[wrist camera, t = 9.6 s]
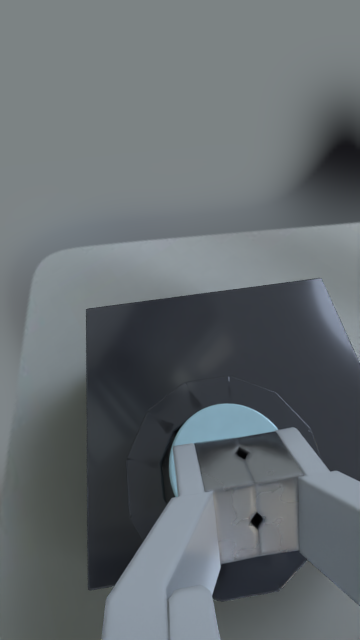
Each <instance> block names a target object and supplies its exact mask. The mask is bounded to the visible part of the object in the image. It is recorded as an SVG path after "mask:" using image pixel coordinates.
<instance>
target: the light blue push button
mask: <svg viewBox="0 0 360 640" xmlns="http://www.w3.org/2000/svg"><path fill="white" fill-rule="evenodd" d="M275 430H278V428H277V427H276V426H275V425H274V424H273V423H272V422H271V421H270V420H269V419H268V418H266V417H265V416H264V415H263V414H261V413H259V412H258V411H256V410H254V409H251V408H249V407H246V406H243V405H239V404H232V403H223V404H216V405H211V406H208V407H206V408H203V409H202V410H200V411H198V412H196V413H195V414H193V415H192V416H191V417H190V418H189V419H188V420H187V421H186V422H185V423H184V424H183V425H182V426H181V428H180V429H179V431H178V433H177V434H176V437H175V439H174V441H173V444H172V447H171V451H170V456H169V477H170V483H171V487H172V490H173V493H174V496H175V497H178V491H177V482H176V473H175V465H174V456H173V446H177V445H183V444H190V443H193V444H194V443H197V442H204V441H212V440H219V439H227V438H237V437H243V436H249V435H255V434H261V433H267V432H273V431H275Z"/></svg>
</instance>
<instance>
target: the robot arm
mask: <svg viewBox="0 0 360 640" xmlns="http://www.w3.org/2000/svg"><path fill="white" fill-rule="evenodd" d="M173 456H174V465H175V473H176V482H177V491H178V497H174V498H171V500H170V501H169V503H168V504H167V506H166V507H165V509H164V510H163V512H162V514H161V515H160V517H159V518H158V520H157V521H156V523H155V524H154V526H153V527H152V529H151V530H150V532H149V534H148V535H147V537H146V538H145V540H144V541H143V543H142V544H141V546H140V547H139V549H138V551H137V552H136V554H135V555H134V557H133V558H132V560H131V561H130V563H129V564H128V566H127V567H126V569H125V571H124V572H123V574H122V575H121V577H120V578H119V580H118V581H117V583H116V584H115V586H114V588H113V589H112V591H111V592H110V594H109V595H108V597H107V598H106V604H105V612H104V620H103V629H102V637H101V640H220V635H219V630H218V624H217V619H216V614H215V608H214V603H213V598H212V594H213V591H214V588H215V584H216V581H217V578H218V575H219V571H220V568H221V565H220V564H225V563H230V562H234V561H239V560H244V559H248V558H253V557H258V556H264V555H271V554H278V553H285V552H291V551H298V550H300V553H301V554H302V555H303V556H304V557H305V558H306V559H307V560H309V561H310V562H311V563H312V564H313V565H314V566H315V567H316V568H318V569H319V570H320V571H321V572H322V573H323V574H324V575H325V576H327V577H328V578H329V579H330V580H331V581H332V582H333V583H334V584H336V585H337V586H338V587H339V588H340V589H341V590H342V591H343V592H344V593H346V594H347V595H348V596H349V597H350V598H351V599H352V600H353V601H355V602H356V603H357V604H358V605H359V606H360V481H358V480H355V479H353V478H351V477H349V476H347V475H345V474H343V473H341V472H339V471H331V472H330V471H329V469H328V468H327V467H326V466H325V464H324V463H323V462H322V460H321V459H320V458H319V457H318V455H317V454H316V453H315V451H314V450H313V449H312V448H311V446H310V445H309V444H308V442H307V441H306V440H305V439H304V437H303V436H302V435H301V433H300V432H299V431H298V430H297V429H296V428H294V427H291V428H286V429H281V430H275V431H273V432H267V433H261V434H255V435H249V436H243V437H237V438H227V439H219V440H212V441H204V442H197V443H194V444H193V443H190V444H183V445H177V446H173Z"/></svg>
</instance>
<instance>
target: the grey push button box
mask: <svg viewBox="0 0 360 640" xmlns="http://www.w3.org/2000/svg"><path fill="white" fill-rule="evenodd" d="M86 385H87V549H88V590H96V589H101V588H107V587H112V586H115V584H116V583H117V581H118V580H119V578H120V577H121V575H122V574H123V572H124V571H125V569H126V567H127V566H128V564H129V563H130V561H131V560H132V558H133V557H134V555H135V554H136V552H137V551H138V549H139V547H140V546H141V544H142V543H143V541H144V540H145V538H146V537H147V535H148V534H149V532H150V530H151V529H152V527H153V526H154V524H155V523H156V521H157V520H158V518H159V517H160V515H161V514H162V512H163V510H164V509H165V507H166V506H167V504H168V503H169V501H170V500H171V498H174V497H175V496H174V493H173V490H172V487H171V483H170V477H169V456H170V451H171V447H172V444H173V441H174V439H175V437H176V434H177V433H178V431H179V429H180V428H181V426H182V425H183V424H184V423H185V422H186V421H187V420H188V419H189V418H190V417H191V416H192V415H193V414H195V413H196V412H198V411H200V410H202V409H203V408H206V407H208V406H211V405H216V404H223V403H232V404H239V405H243V406H246V407H249V408H251V409H254V410H256V411H258V412H259V413H261V414H263V415H264V416H265V417H266V418H268V419H269V420H270V421H271V422H272V423H273V424H274V425H275V426H276V427H277V428H278V430H281V429H286V428H291V427H294V428H296V429H297V430H298V431H299V432H300V433H301V435H302V436H303V437H304V439H305V440H306V441H307V442H308V444H309V445H310V446H311V448H312V449H313V450H314V451H315V453H316V454H317V455H318V457H319V458H320V459H321V460H322V462H323V463H324V464H325V466H326V467H327V468H328V469H329V471H330V472H331V471H339V472H341V473H343V474H345V475H347V476H349V477H351V478H353V479H355V480H358V481H360V362H359V360H358V358H357V356H356V354H355V351H354V349H353V347H352V345H351V343H350V340H349V338H348V336H347V334H346V331H345V329H344V327H343V325H342V323H341V320H340V318H339V316H338V314H337V311H336V309H335V307H334V305H333V303H332V300H331V298H330V296H329V294H328V291H327V289H326V287H325V285H324V283H323V280H322V278H316V279H309V280H301V281H294V282H286V283H278V284H271V285H263V286H256V287H248V288H241V289H233V290H225V291H218V292H210V293H203V294H195V295H188V296H180V297H172V298H165V299H157V300H150V301H142V302H134V303H127V304H119V305H112V306H104V307H97V308H89V309H86ZM306 561H307V559H306V558H305V557H304V556H303V555H302V554H301V553H300V550H298V551H291V552H285V553H278V554H271V555H264V556H258V557H253V558H248V559H244V560H239V561H234V562H230V563H225V564H220V565H221V568H220V571H219V575H218V578H217V581H216V584H215V588H214V591H213V594H212V598H213V599H215V600H217V601H221V602H224V601H229V600H234V599H240V598H245V597H251V596H256V595H261V594H267V593H272V592H277V591H279V590H280V589H282V588H283V587H284V586H285V585H286V584H287V583H288V581H289V580H290V579H291V578H292V577H293V576H294V575H295V573H296V572H297V571H298V570H299V569H300V568H301V567H302V565H303V564H304V563H305V562H306Z"/></svg>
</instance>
